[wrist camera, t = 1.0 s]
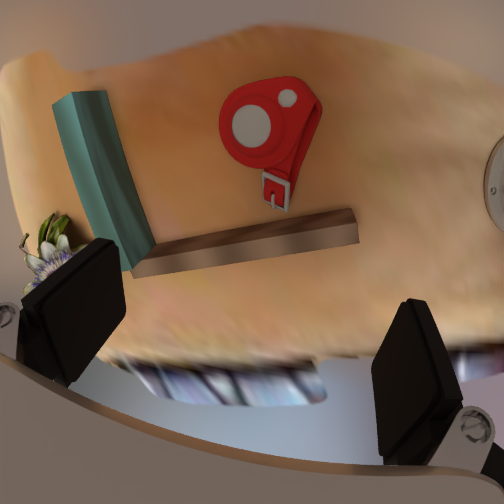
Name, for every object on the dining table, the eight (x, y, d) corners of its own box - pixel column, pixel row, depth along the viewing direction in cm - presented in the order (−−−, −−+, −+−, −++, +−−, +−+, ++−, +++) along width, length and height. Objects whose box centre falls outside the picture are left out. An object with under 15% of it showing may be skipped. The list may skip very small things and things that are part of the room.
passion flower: (115, 244, 43) (106, 322, 37) (59, 251, 43) (46, 322, 37) (79, 197, 33) (58, 288, 27) (20, 211, 33) (-4, 292, 27)
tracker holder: (194, 121, 28) (268, 50, 22) (220, 119, 31) (288, 59, 25) (265, 226, 28) (358, 167, 22) (284, 213, 32) (365, 161, 26)
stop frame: (307, 21, 22) (308, 2, 17) (353, 226, 31) (363, 253, 25) (86, 101, 28) (51, 105, 23) (142, 263, 37) (118, 289, 32)
